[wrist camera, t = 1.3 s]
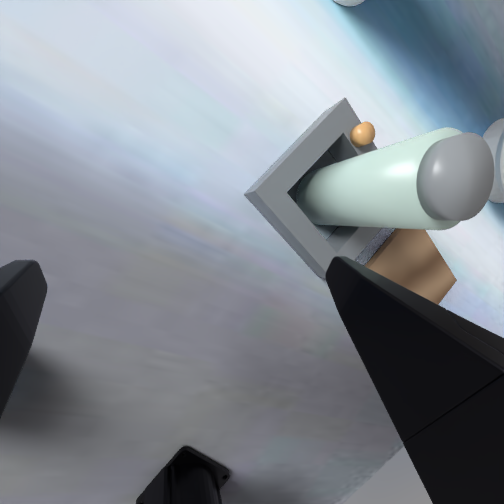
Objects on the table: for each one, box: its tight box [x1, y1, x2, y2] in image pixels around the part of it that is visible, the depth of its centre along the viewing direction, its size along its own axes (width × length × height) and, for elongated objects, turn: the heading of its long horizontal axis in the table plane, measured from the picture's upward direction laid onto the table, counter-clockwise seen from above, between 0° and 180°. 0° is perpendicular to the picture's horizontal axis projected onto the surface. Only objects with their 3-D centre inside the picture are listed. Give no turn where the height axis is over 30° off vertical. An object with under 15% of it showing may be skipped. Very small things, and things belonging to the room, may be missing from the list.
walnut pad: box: [365, 228, 457, 305], centre depth 30 cm, size 12×12×1 cm
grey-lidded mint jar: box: [296, 128, 494, 230], centre depth 19 cm, size 6×6×13 cm
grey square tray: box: [244, 98, 382, 279], centre depth 23 cm, size 12×12×4 cm
